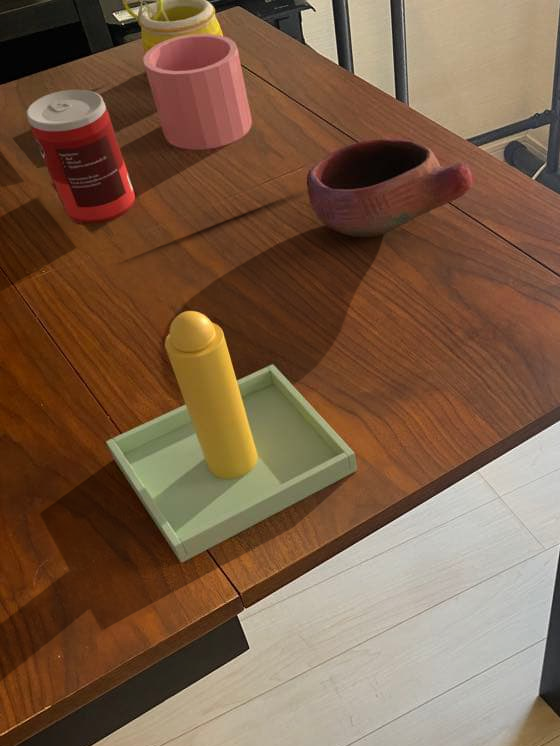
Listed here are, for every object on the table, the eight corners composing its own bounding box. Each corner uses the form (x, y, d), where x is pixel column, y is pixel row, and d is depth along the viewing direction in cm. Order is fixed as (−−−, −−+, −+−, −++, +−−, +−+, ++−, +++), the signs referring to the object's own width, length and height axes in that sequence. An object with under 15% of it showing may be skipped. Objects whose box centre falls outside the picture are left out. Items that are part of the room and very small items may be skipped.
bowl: (312, 265, 83) (299, 189, 77) (315, 197, 91) (303, 123, 85) (473, 253, 83) (474, 175, 77) (462, 185, 91) (462, 110, 85)
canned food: (96, 184, 96) (59, 84, 87) (152, 197, 93) (120, 95, 85) (51, 219, 92) (8, 117, 83) (108, 233, 89) (70, 129, 80)
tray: (181, 563, 61) (173, 546, 59) (113, 458, 68) (105, 441, 66) (357, 470, 66) (354, 452, 64) (277, 381, 73) (272, 363, 71)
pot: (188, 163, 97) (166, 82, 90) (151, 130, 103) (128, 51, 96) (268, 134, 101) (253, 54, 94) (228, 103, 106) (211, 25, 99)
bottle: (221, 487, 65) (171, 342, 54) (199, 457, 67) (147, 312, 56) (266, 464, 66) (227, 318, 55) (243, 435, 68) (200, 290, 57)
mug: (249, 71, 112) (229, -33, 102) (183, 102, 107) (156, -4, 98) (191, 47, 118) (167, -53, 108) (126, 76, 113) (95, -26, 104)
